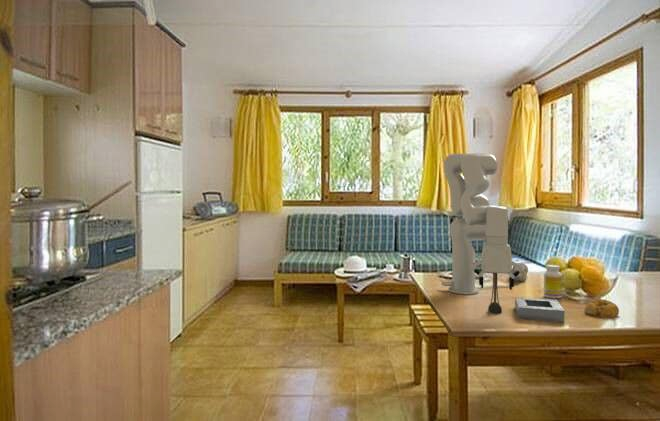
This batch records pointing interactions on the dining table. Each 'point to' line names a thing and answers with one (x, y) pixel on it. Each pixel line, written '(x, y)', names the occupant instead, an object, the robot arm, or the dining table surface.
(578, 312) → the dining table surface
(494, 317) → the dining table surface
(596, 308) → the bagel
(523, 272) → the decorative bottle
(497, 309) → the wooden tabletop sculpture
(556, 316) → the tray
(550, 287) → the supplement bottle
